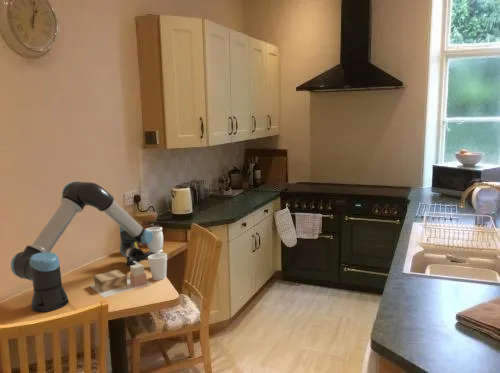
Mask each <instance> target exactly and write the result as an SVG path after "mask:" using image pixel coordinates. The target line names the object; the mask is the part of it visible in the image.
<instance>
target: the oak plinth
mask: <svg viewBox="0 0 500 373" xmlns="http://www.w3.org/2000/svg"><path fill="white" fill-rule="evenodd" d="M126 276H127V274H125V273H124V272H122V271H120V270H119V269H114V270H111V271H107V272H103V273H99V274H95V275H93V282H94V285H95V286H96V287H97V288H99V289H100V290H101V291H102V292H105V291H109V290H112V289H116V288H119V287H123V286H126V285H127V277H126Z"/></svg>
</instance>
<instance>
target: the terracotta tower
mask: <svg viewBox="0 0 500 373" xmlns="http://www.w3.org/2000/svg"><path fill="white" fill-rule="evenodd" d="M129 269H130V273H129V275H130V283H131V284H132V285H133V286H135V287H137V286H140V285H144V284H147V280H148V279H147V273H146V272H145V266H144V265H143V264H141V263H139V264H136V265H132V266H131V265H130V266H129Z"/></svg>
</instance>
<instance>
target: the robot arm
mask: <svg viewBox="0 0 500 373" xmlns="http://www.w3.org/2000/svg"><path fill="white" fill-rule="evenodd" d="M61 193H62V195H61V198H60V203H61V204H60V205H59V207H58V208H57V209H56V211H55V212H54V213H53V215H52V216H51V217H50V219H49V220H48V222H47V223H46V225H45V226H44V227H43V229H42V230H41V232H40V233H39V234H38V236H37V237H36V238H35V240H34V242H33V243H32V244H28V245H27V246H26V247H25V248H24V250H23V251H21V252H17V253H16V254H15V255H14V256H13V257H12V259H11V262H10V269H11V272H12V273H13V274H14V275H15V276H16V277H19V278H20V279H25V280H28V281H32V287H33V295H32V299H31V303H30V305H31V310H32V311H33V312H37V313H43V312H46V313H47V312H52V311H55V310H58V309H60V308H63V307H64V306H66V305H67V304H68V303H69V297H68V294H67V292H66V291H65V289H64V287H63V282H62V274H61V273H62V272H61V266H60V264H61V263H60V260H59V256H58V254H56V253H55V252H51V251H52V250H53V248H55V246H56V243H57V242H58V241H59V240H60V238H61V237H62V235H63V234H64V232H65V231H66V229H67V227H68V226H69V225H70V224H71V222H72V221H73V219H74V218H75V216H76V215H77V213H81V212H82V211H83V210H84V209H85V207H86V206H90V207H92V208H95V209H97V210H98V211H99V212H103V213H104V214H105V215H107V216H108V217H109V218H111V220H112V221H114V222H115V223H116V224H117V225H118V226H119V236H120V242H121V246H120V245H119V253H120V254H121V255H122V256H123V257H124V258H126V267H127V268H130V266H132V265H136V264H140V262H142V261H148V256H149V255H152V254H156V253H154V252H149V251H148V252H146V253H145V252H144V250H142V249H140V248H139V247H138V248H137V247H135V242H136V243H137V244H138V243H139V244H143V245H144V244H146V245H147V244H149V243H150V242H151V241H152V240H153V233H152V232H151V231H149V230H145V229H146V228H144V227H143V226H142V225H141V224H139V222H137V221H136V220H135V219H134V218H133V217H132V216H131V215H130V214H129V213H128V212H127V211H126V210H125V209H123V208H122V207H121V206H120V204H118V203H117V202H116V201H115V197H114V196H113V195H112V194H111V193H110V192H109V191H107V190H106V189H105V187H102V186H101V185H99V184H97V183H95V182H89V181H88V182H86V181H78V180H77V181H71V182H69V183H67V184H66V185H65V186H64V187H63V189H62V192H61Z"/></svg>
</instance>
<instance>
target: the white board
mask: <svg viewBox="0 0 500 373" xmlns="http://www.w3.org/2000/svg"><path fill="white" fill-rule="evenodd" d="M126 277H127V285H126V286H123V287H119V288H116V289H112V290H109V291H105V292H102V291H101V290H100V289H99V288H97V287H96V286H95V284H92V285H90V287H91V288H92V289H93V290H94V291H95V292H96V293H98V294H99V295H100V296H101V297H102V298H103V299H104V298H108V297H111V296H114V295H115V296H116V295H118V294H121V293H124V292H128V291H132V290H135V289H139V288H143V287H146V286H149V285H153V282H151V281H149V280H148V279H147V284H144V285H140V286H137V287H135V286H133V285H132V284H131V283H130V274H129V275H126Z"/></svg>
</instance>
